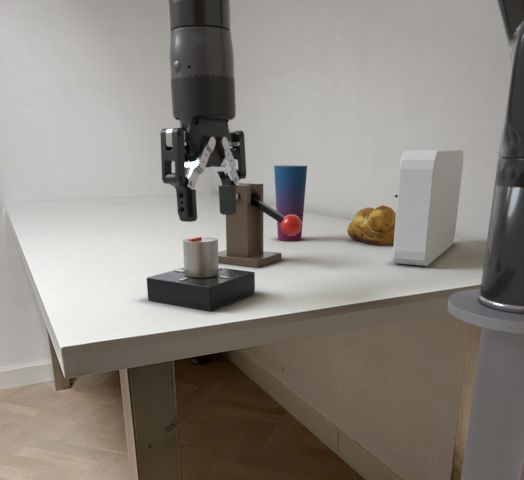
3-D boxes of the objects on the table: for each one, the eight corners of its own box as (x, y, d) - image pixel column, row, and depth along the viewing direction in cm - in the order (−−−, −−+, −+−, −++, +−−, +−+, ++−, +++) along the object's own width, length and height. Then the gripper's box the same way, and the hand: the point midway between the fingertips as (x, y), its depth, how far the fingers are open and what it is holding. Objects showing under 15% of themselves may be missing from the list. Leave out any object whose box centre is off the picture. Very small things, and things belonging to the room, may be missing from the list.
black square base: (255, 293, 74) (254, 270, 73) (210, 311, 66) (209, 285, 65) (196, 285, 79) (195, 263, 78) (147, 300, 71) (146, 276, 70)
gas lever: (300, 238, 91) (308, 219, 90) (290, 241, 89) (298, 222, 87) (240, 199, 95) (247, 181, 93) (229, 201, 92) (235, 182, 91)
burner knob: (198, 269, 74) (196, 233, 73) (225, 273, 72) (224, 236, 71) (177, 275, 71) (175, 237, 69) (205, 279, 69) (203, 240, 67)
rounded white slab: (416, 241, 116) (424, 150, 110) (454, 243, 113) (464, 150, 107) (377, 265, 93) (385, 150, 86) (424, 269, 89) (436, 150, 83)
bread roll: (336, 240, 118) (338, 201, 115) (370, 236, 123) (372, 198, 120) (380, 248, 108) (383, 206, 105) (414, 244, 113) (418, 203, 110)
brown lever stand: (281, 259, 97) (282, 183, 93) (257, 267, 91) (257, 186, 86) (234, 254, 102) (233, 182, 98) (208, 261, 96) (205, 184, 91)
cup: (292, 242, 114) (293, 166, 109) (267, 239, 118) (267, 165, 113) (311, 238, 119) (313, 165, 114) (286, 235, 123) (287, 165, 118)
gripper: (190, 66, 57) (199, 225, 63) (261, 79, 69) (263, 213, 74) (136, 72, 61) (148, 222, 66) (212, 84, 72) (217, 211, 78)
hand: (209, 217), depth 70 cm, fingers open, 8 cm apart
